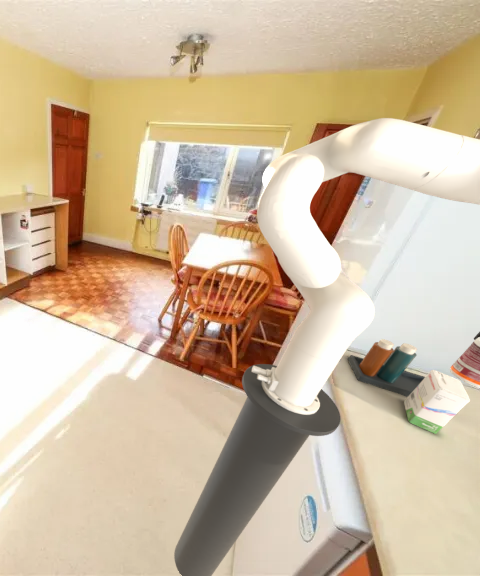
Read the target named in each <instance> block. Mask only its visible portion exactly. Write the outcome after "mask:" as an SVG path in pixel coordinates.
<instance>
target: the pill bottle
mask: <svg viewBox="0 0 480 576" xmlns="http://www.w3.org/2000/svg"><path fill="white" fill-rule="evenodd" d="M449 372H450V373H451V375H453V376H454V377H456V379H458V380H460V381H461V382H463V383H466V384H467V385H469V386H473V387H474V388H477V389H480V337H479V338H477V339H476V340H474V341H473V342H472V343H471V344H470V345H469V346H468V347H467V349H465V350H464V352H463V353H462V354H461V355H460V356H459V357H458V358H457V359H456V360H455V361H454V362H453V364H451V366H450V367H449Z"/></svg>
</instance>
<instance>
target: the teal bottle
mask: <svg viewBox="0 0 480 576" xmlns="http://www.w3.org/2000/svg"><path fill="white" fill-rule="evenodd" d="M393 350H394V351H393V352H392V354H391V355H390V356H389V358H388V359H387V360H386V362H385V363H384V364H383V366H382V367H381V368H380V370H379V371H378V372H377V376H378V377H379V378H381V379H383V380H385V381H387V382H390V383H394V382H395V381H396V380H397V379H398V378H399V377H400V375H401V374H402V373H403V372H404V371H406V369H408V367H409V365H411V363H412V362H413V361H414V360H415V358H416V357H417V353H416V352H417V351H418V348H417V347H416V346H414V345H412V344H409V343H405V342H404V343H402V344H401V345H400V346H399V345H398V346H396V347H395V348H394V349H393Z"/></svg>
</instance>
